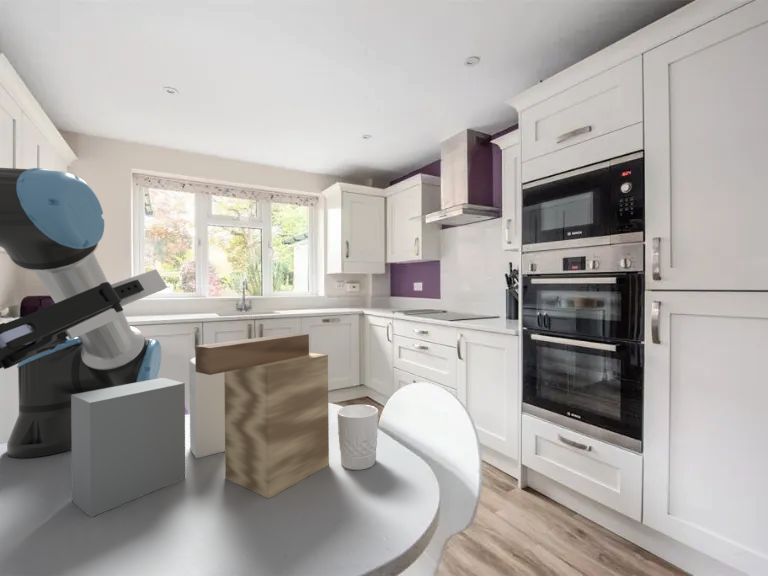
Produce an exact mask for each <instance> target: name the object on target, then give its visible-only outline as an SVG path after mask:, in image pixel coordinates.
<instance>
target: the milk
mask: <svg viewBox="0 0 768 576" xmlns="http://www.w3.org/2000/svg"><path fill="white" fill-rule="evenodd" d="M203 345H206V344H205V343H204V344H203ZM189 430H190V431H189V439H190V440H189V443H190V444H189V447H190V451H191V452H192V454H193V456H194V458H195V459H200V458H203V457H208V456H211V455H215V454H220V453H223V452H224V453H225V377H224V372H223V373H218V374H213V375H207V374H203V373H198V372H196V369H195V356H194V357H193V358H191V359H189Z"/></svg>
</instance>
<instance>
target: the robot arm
mask: <svg viewBox="0 0 768 576" xmlns="http://www.w3.org/2000/svg"><path fill="white" fill-rule="evenodd" d="M103 215H104V212H103V208H102V205H101V202H100V200H99V198H98V197H97V194H96V193H95V192H94V191H93V189H92V187H91V186H90V185H88V183H86V181H84V179H82V178H80V177H79V176H77V175H74V174H71V173H69V172H66V171H62V170H61V171H59V170H50V169H47V168H41V167H39V168H38V167H33V168H13V167H0V248H2V249H3V250H4V251H5V253H6V254H7V255H8V256H9V258H10V260H12V262H13V263H14V264H15V265H16V266H17V267H19V268H22V269H23V270H26V271H32V272H34V273H35V275H36V277H37V278H38V280H39V281H40V283H41V284H42V286H43V287H44V288H45V290H46V292H47V293H48V295H49V296H50V297H51V299H52V300H53V302H54V303H53V304H51V305H48V306H46V307H43V308H41V309H39V310H36V311H34V312H31V313H30V314H27V315H24V316H21V317H18V318H16V319H13V320H10V321H8V322H1V323H0V369H4V370H6V369H9V368H12V367H14V366H16V368H17V371H18V372H17V375H18V376H17V377H18V378H17V379H18V380H17V381H18V383H17V384H18V385H17V386H18V416H17V419H16V421H15V423H14V425H13V428H12V431H11V433H10V436H9V438H8V440H7V444H6V446H7V449H6V452H7V453H6V454H7V456H8V457H11V458H19V459H27V458H28V459H29V458H36V457H37V458H38V457H44V456H49V455H54V454H59V453H64V452H67V451H70V450H71V451H72V427H71V395H73V394H78V393H83V392H89V391H94V390H99V389H105V388H110V387H115V386H121V385H126V384H131V383H137V382H142V381H147V380H153V379H158V378H159V377H158V376H159V373H160V369H161V363H162V362H161V361H162V346H161V342H160V341H159V340H157V339H152V338H150V339H145V336H144V334H143V333H142V331H141V330H140V329H138V328H136V327H134V326H131V325H130V324H129V322H128V319H127V317H126V316H125V313H124V308H123V306H126V305H129V304H132V303H134V302H136V301H139V300H141V299H143V298H146V297H148V296H152V295H153V294H156V293H158V292H161V291H163V290H166V289H167V288H168V286H167V284H166V282H165V281H164V280H163V278H162V276H161V275H160V273H159V272H158V269H156V268H155V269H151V270H149V271H147V272H144V273H141V274H138V275H135V276H132V277H128V278H126V279H124V280H120V281H117V282H114V283H110V282H109V281H108V278H107V277H106V275H105V273H104V271H103V269H102V267H101V265H100V263H99V261H98V258H97V257H96V255H95V251H96V250H97V248H98V247H99V243H100V241H101V240H102V238H103V237H104V230H105V219H104V218H103Z"/></svg>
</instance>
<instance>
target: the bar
mask: <svg viewBox="0 0 768 576" xmlns="http://www.w3.org/2000/svg"><path fill="white" fill-rule="evenodd" d="M194 349H195V350H194V351H195V353H194V355H195V356H194V357H195V369H196V372H198V373H203V374H207V375H213V374H218V373H223V372H228V371H233V370H237V369H242V368H247V367H252V366H257V365H262V364H267V363H272V362H277V361H282V360H287V359H292V358H297V357H302V356H307V355H309V353H310V334H309V333H299V332H298V333H297V332H293V333H292V332H291V333H284V334H276V335H275V334H274V335H269V336H263V337H255V338H246V339H245V338H244V339H239V340H237V339H236V340H231V341H224V342H216V343H215V342H214V343H207V344H206V345H204V344H201V345H200V344H199V345H195V347H194Z"/></svg>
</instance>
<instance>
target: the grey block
mask: <svg viewBox="0 0 768 576" xmlns="http://www.w3.org/2000/svg"><path fill="white" fill-rule="evenodd" d="M185 384H186V383H185V382H181V381H177V380H174V379H170V378H166V377H157V379H153V380H147V381H142V382H137V383H131V384H126V385H121V386H115V387H110V388H105V389H99V390H94V391H89V392H83V393H78V394H73V395H71V427H72V449H71V501H72V502H73V503H74V504H75V505H76V506H77V507H78V508H80V510H82V511H83V512H84V513H85V514H86V515H87V516H89V517H90V518H93V517H95V516H98V515H101V514H102V513H105V512H108V511H109V510H112V509H114V508H117V507H119V506H122V505H124V504H127V503H129V502H131V501H133V500H136V499H139V498H141V497H143V496H146V495H148V494H150V493H153V492H155V491H157V490H160V489H162V488H165V487H167V486H170V485H173V484H174V483H177V482H180V481H182V480H184V479H186V397H185V396H186V395H185V394H186V393H185V392H186V390H185V389H186V388H185V387H186V385H185Z"/></svg>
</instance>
